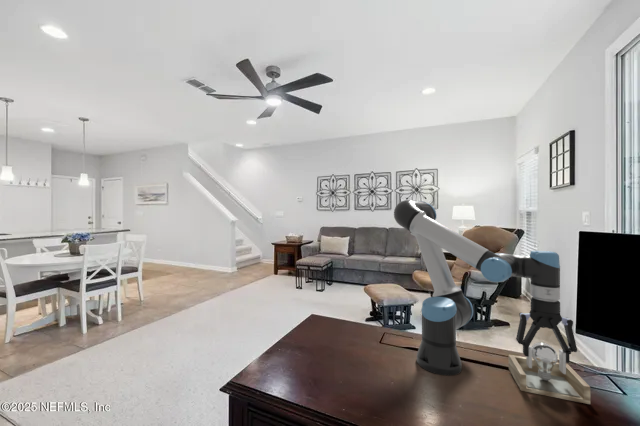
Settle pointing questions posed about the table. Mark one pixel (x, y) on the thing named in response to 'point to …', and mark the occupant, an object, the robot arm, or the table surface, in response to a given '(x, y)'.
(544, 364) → the light bulb
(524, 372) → the shallow wooden tray
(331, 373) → the table surface
